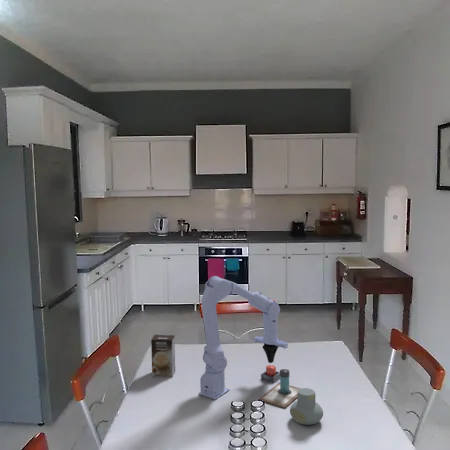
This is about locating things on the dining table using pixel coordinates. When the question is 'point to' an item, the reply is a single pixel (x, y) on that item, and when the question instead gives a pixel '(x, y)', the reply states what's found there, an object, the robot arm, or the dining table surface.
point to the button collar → (270, 377)
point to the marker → (284, 381)
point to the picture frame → (280, 396)
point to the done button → (271, 370)
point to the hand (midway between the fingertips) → (270, 362)
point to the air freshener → (306, 408)
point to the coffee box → (163, 355)
